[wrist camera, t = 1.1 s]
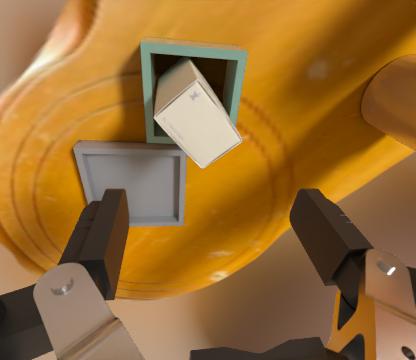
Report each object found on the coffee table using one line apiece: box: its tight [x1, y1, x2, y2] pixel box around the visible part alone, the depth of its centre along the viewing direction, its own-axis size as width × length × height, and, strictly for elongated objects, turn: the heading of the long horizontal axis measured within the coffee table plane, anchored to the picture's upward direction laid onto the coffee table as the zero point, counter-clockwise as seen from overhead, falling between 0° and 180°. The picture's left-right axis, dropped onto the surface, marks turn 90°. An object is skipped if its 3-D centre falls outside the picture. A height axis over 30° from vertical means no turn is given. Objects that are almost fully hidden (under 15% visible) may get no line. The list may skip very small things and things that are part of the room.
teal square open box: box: [140, 37, 248, 144], centre depth 26 cm, size 10×10×5 cm
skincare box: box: [154, 56, 242, 168], centre depth 23 cm, size 6×4×12 cm
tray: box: [73, 140, 187, 227], centre depth 34 cm, size 14×14×2 cm
